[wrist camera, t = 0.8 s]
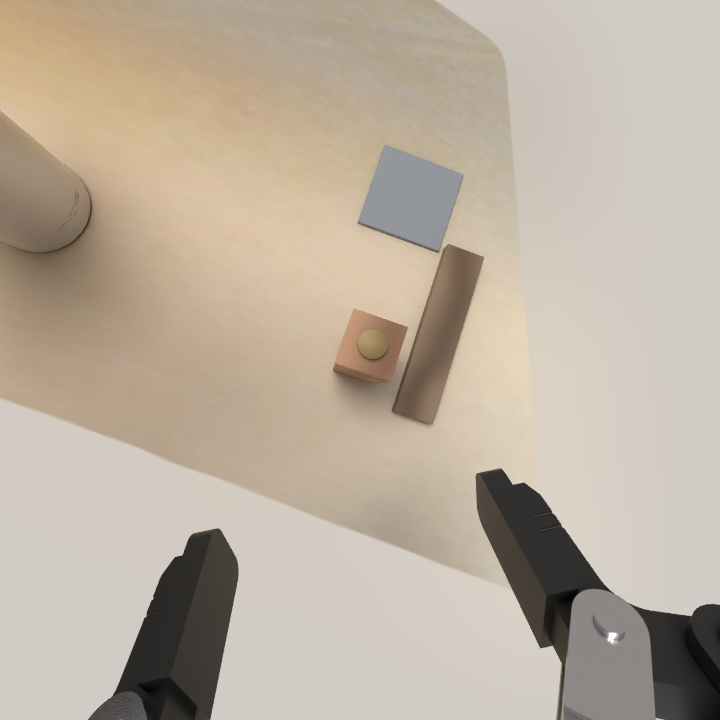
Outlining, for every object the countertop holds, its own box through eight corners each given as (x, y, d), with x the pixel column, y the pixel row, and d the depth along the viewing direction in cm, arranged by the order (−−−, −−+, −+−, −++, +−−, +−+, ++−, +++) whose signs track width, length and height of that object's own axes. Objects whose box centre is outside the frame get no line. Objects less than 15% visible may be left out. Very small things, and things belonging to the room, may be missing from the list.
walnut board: (391, 410, 36) (394, 411, 35) (443, 249, 38) (448, 243, 37) (428, 422, 37) (432, 424, 35) (478, 262, 38) (484, 257, 37)
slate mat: (358, 223, 37) (358, 221, 37) (384, 147, 38) (385, 144, 38) (437, 252, 38) (438, 250, 38) (462, 176, 39) (463, 174, 38)
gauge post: (333, 370, 36) (335, 362, 24) (345, 333, 36) (354, 306, 24) (370, 382, 36) (391, 381, 24) (382, 346, 37) (409, 325, 24)
